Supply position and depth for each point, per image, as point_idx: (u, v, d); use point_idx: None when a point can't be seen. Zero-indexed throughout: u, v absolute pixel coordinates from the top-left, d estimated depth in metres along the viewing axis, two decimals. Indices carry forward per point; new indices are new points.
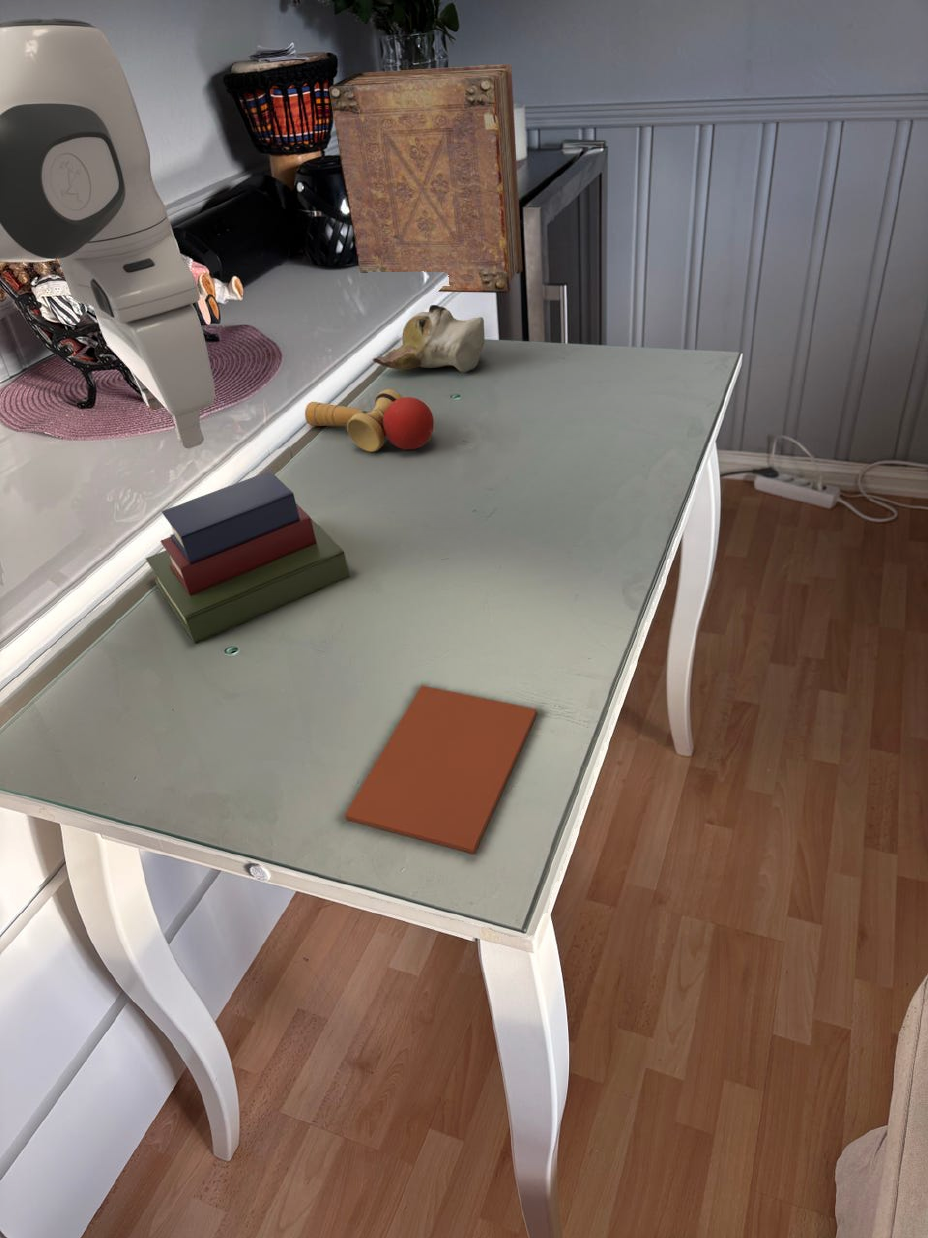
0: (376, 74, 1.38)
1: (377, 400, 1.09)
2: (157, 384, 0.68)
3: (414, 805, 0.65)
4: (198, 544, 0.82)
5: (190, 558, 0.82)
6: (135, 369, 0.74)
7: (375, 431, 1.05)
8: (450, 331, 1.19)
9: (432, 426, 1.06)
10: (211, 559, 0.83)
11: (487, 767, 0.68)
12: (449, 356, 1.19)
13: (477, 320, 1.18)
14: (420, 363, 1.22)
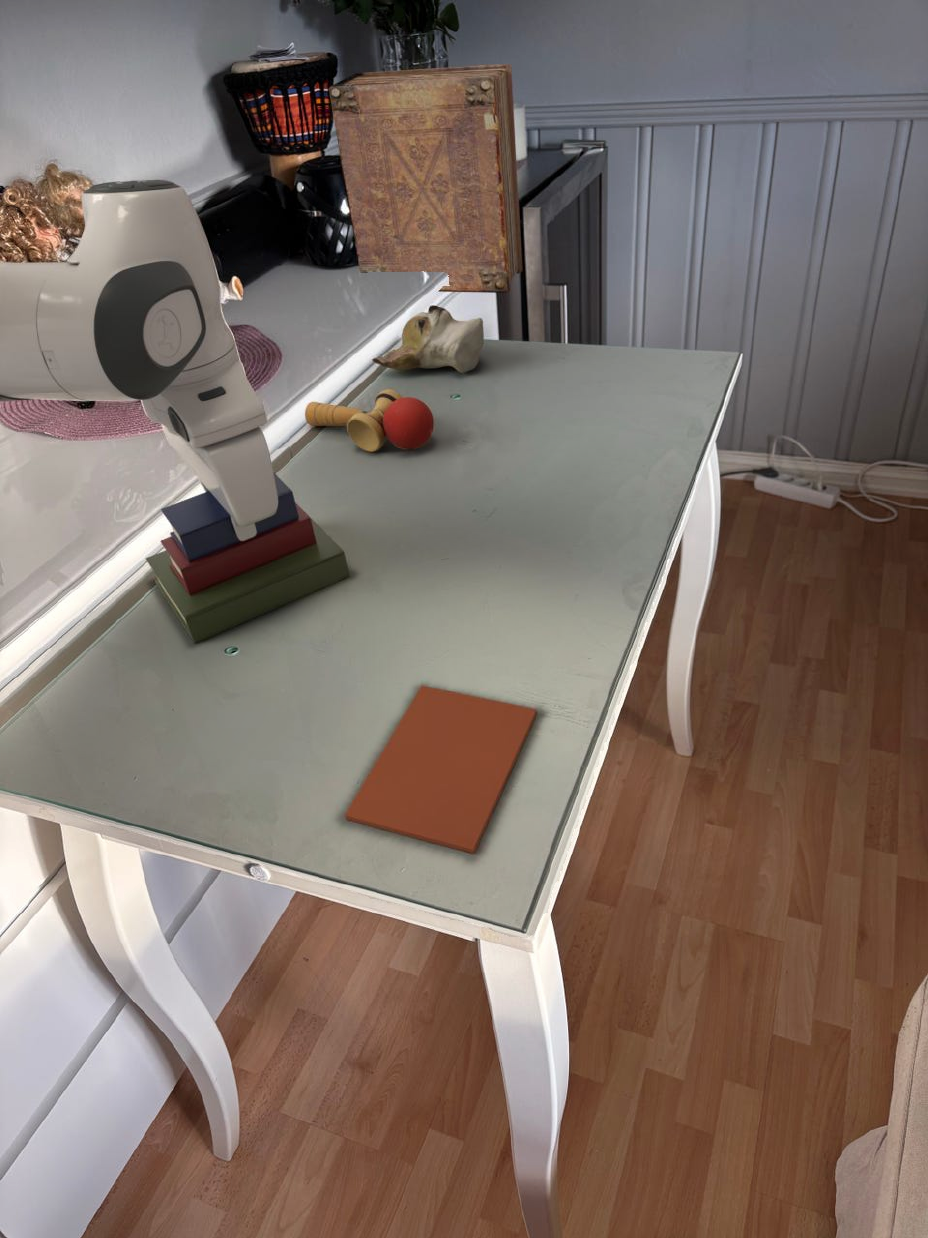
0: (376, 74, 1.38)
1: (377, 400, 1.09)
2: (227, 500, 0.74)
3: (414, 805, 0.65)
4: (197, 543, 0.82)
5: (189, 557, 0.82)
6: (201, 476, 0.81)
7: (375, 431, 1.05)
8: (449, 332, 1.19)
9: (432, 426, 1.06)
10: (211, 559, 0.83)
11: (487, 767, 0.68)
12: (448, 356, 1.19)
13: (476, 321, 1.18)
14: (419, 363, 1.22)
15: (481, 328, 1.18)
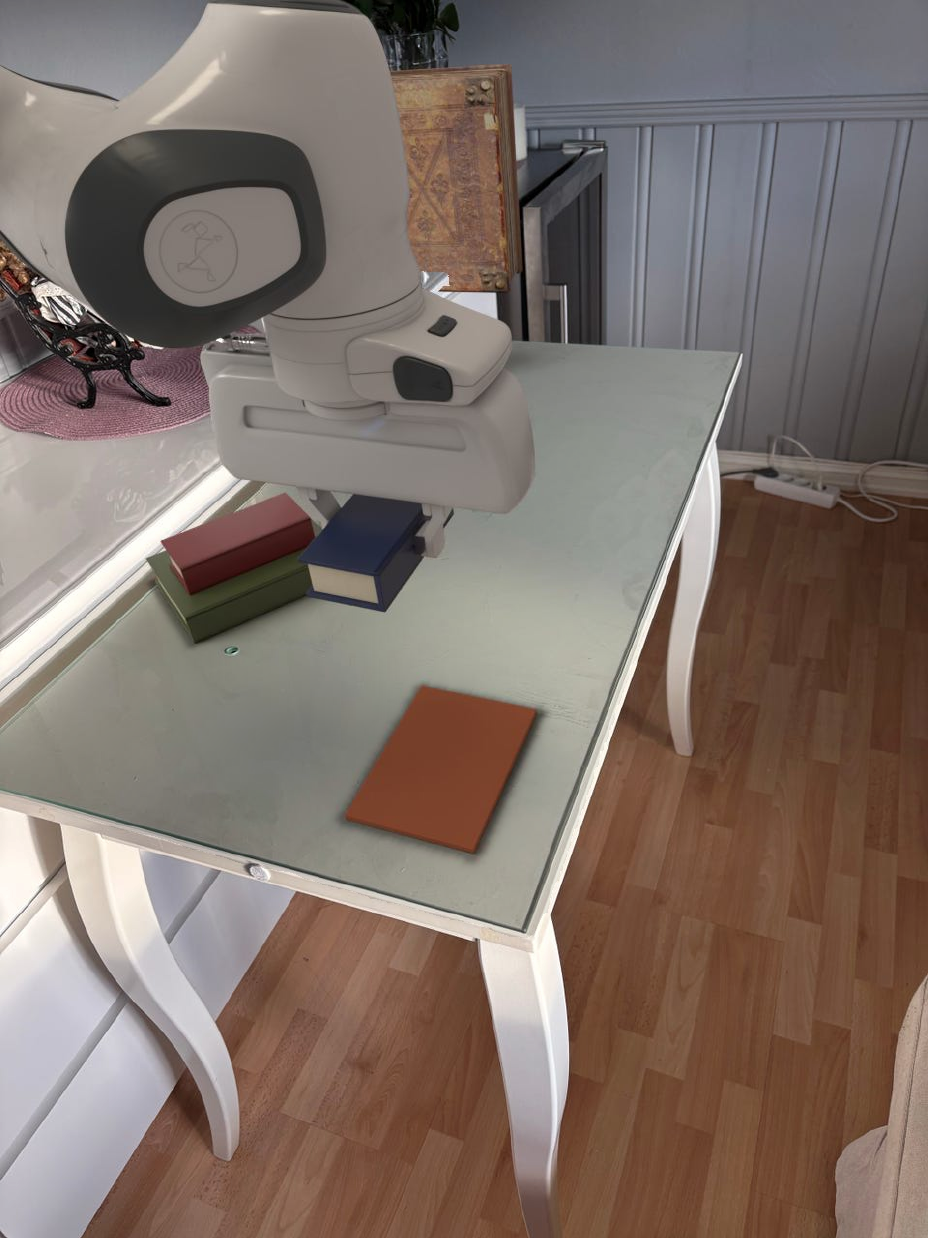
0: None
1: None
2: (503, 475, 0.50)
3: (414, 805, 0.65)
4: (390, 579, 0.55)
5: (385, 604, 0.55)
6: (372, 481, 0.54)
7: None
8: None
9: None
10: (211, 559, 0.83)
11: (487, 767, 0.68)
12: None
13: None
14: None
15: None
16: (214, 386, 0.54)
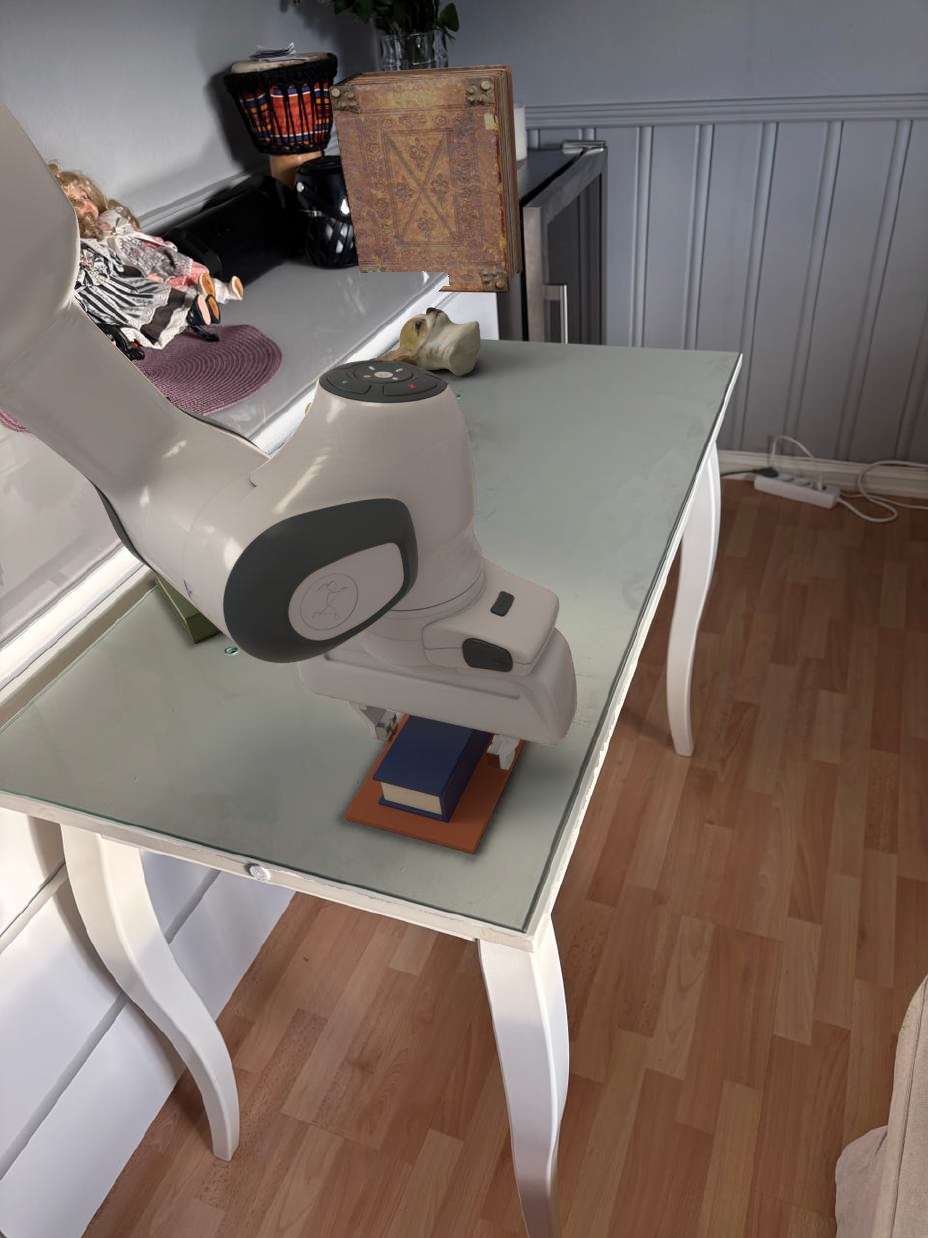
0: (376, 74, 1.38)
1: None
2: (552, 722, 0.58)
3: None
4: (452, 795, 0.64)
5: (448, 817, 0.64)
6: (436, 711, 0.62)
7: None
8: (445, 334, 1.18)
9: None
10: None
11: (487, 767, 0.68)
12: (443, 359, 1.19)
13: (472, 324, 1.17)
14: (416, 365, 1.22)
15: (477, 331, 1.18)
16: None
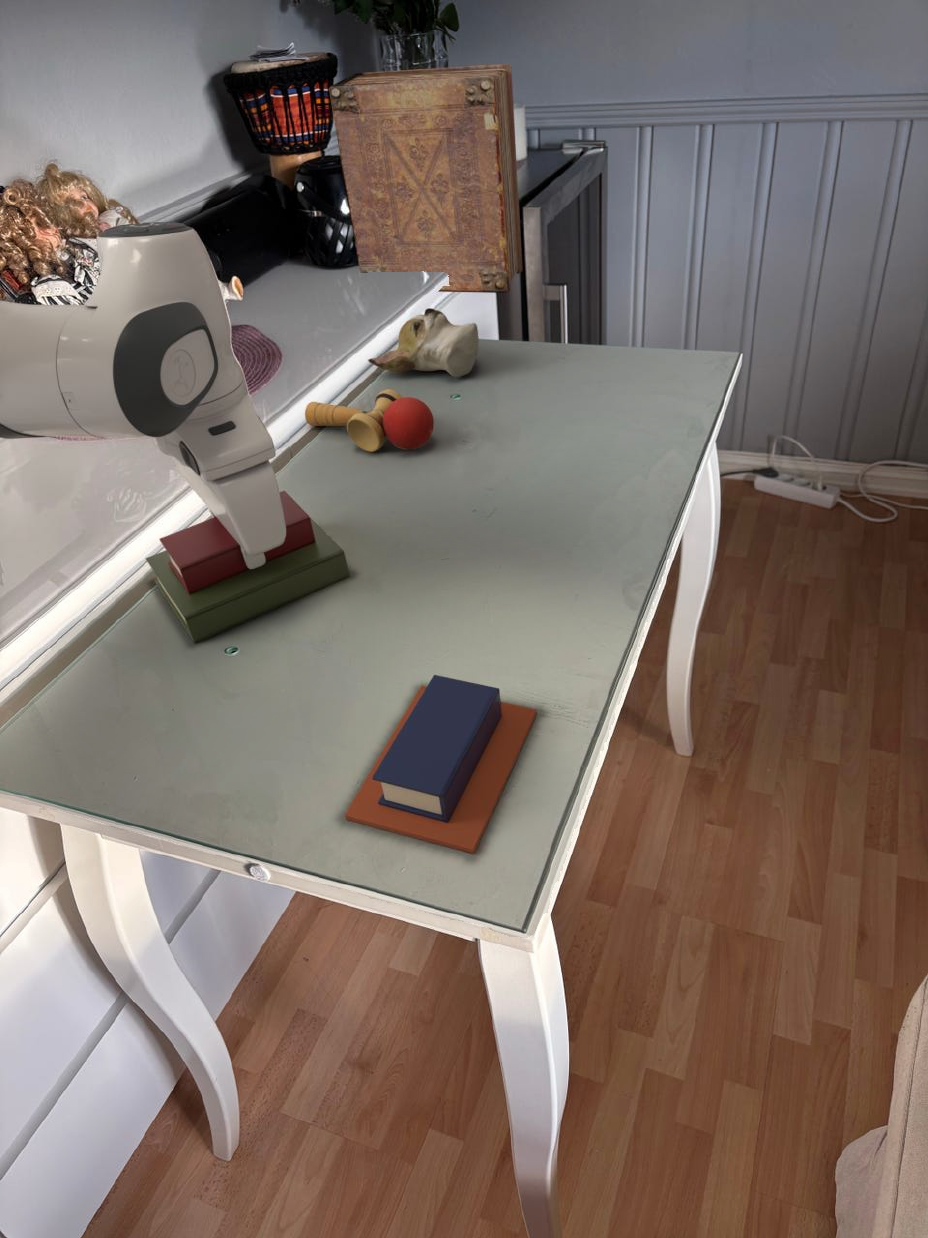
0: (376, 74, 1.38)
1: (377, 400, 1.09)
2: (237, 531, 0.75)
3: None
4: (452, 795, 0.64)
5: (448, 817, 0.64)
6: (210, 505, 0.82)
7: (375, 431, 1.05)
8: (443, 336, 1.18)
9: (432, 426, 1.06)
10: (211, 559, 0.83)
11: (487, 767, 0.68)
12: (441, 360, 1.19)
13: (470, 326, 1.17)
14: (414, 366, 1.22)
15: (475, 333, 1.17)
16: None
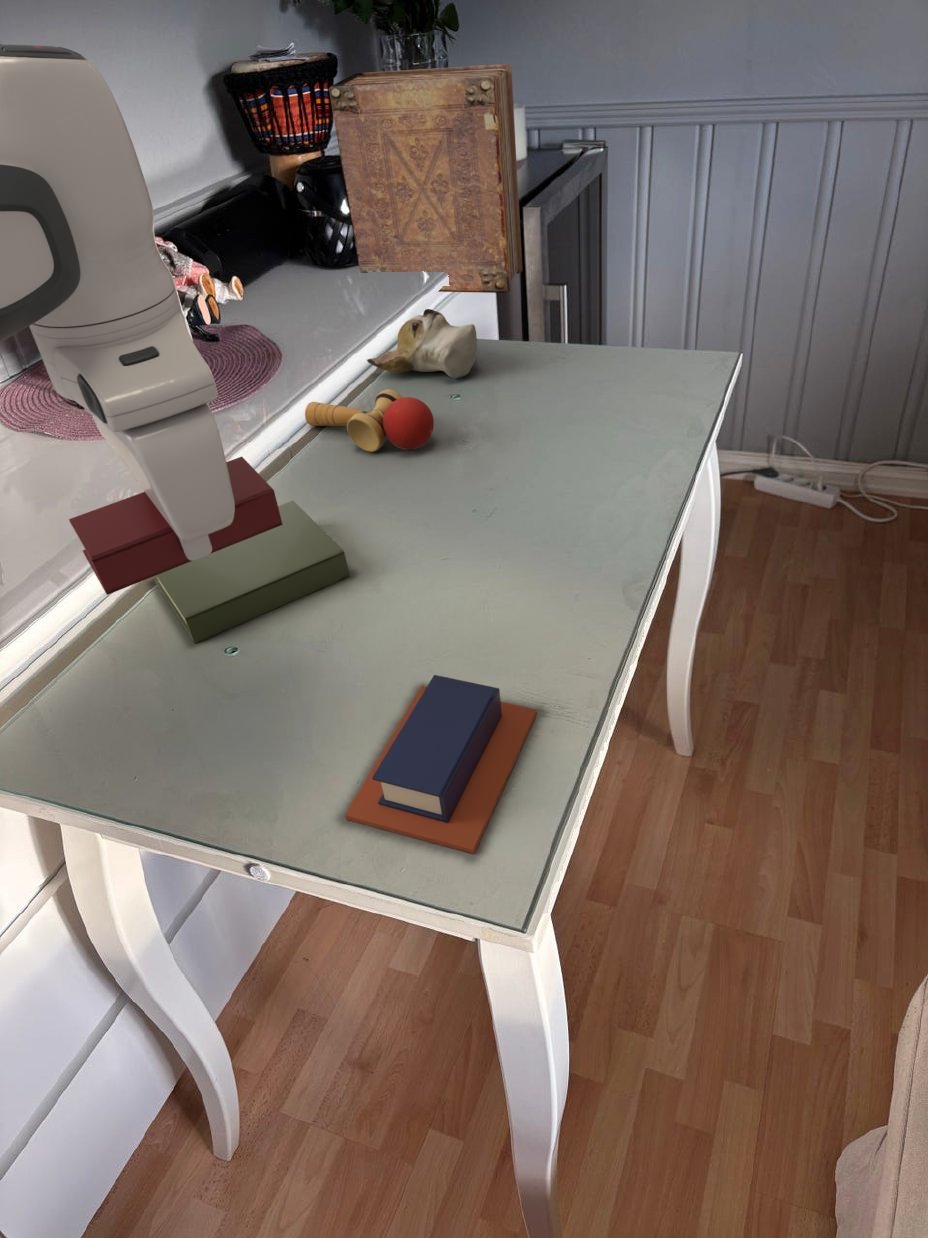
0: (376, 74, 1.38)
1: (377, 400, 1.09)
2: (162, 505, 0.53)
3: None
4: (452, 795, 0.64)
5: (448, 817, 0.64)
6: (134, 473, 0.60)
7: (375, 431, 1.05)
8: (441, 337, 1.18)
9: (432, 426, 1.06)
10: (136, 546, 0.61)
11: (487, 767, 0.68)
12: (439, 361, 1.18)
13: (468, 327, 1.16)
14: (412, 366, 1.21)
15: (473, 334, 1.17)
16: None
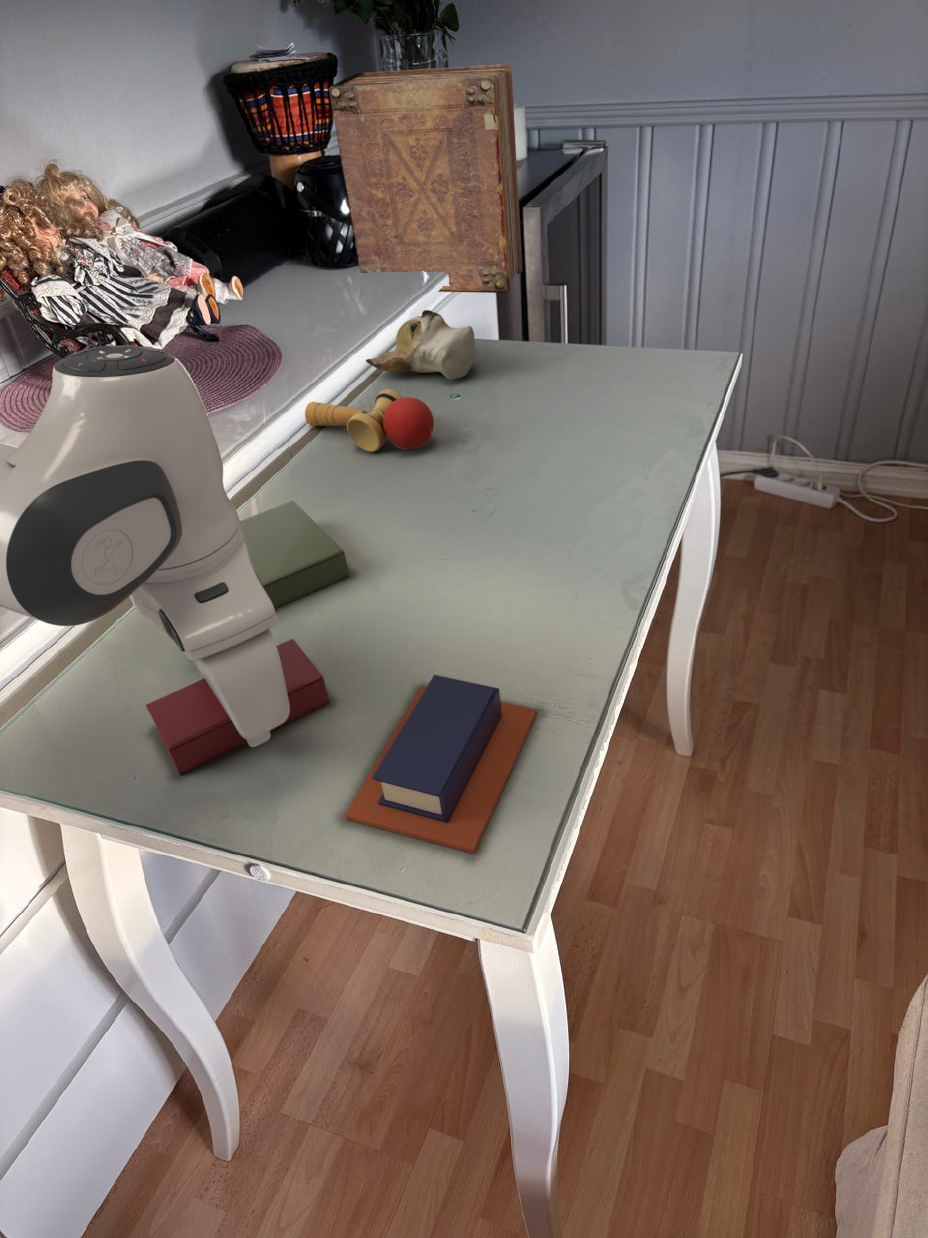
0: (376, 74, 1.38)
1: (377, 400, 1.09)
2: (230, 715, 0.62)
3: None
4: (452, 795, 0.64)
5: (448, 817, 0.64)
6: (198, 666, 0.69)
7: (375, 431, 1.05)
8: (439, 338, 1.18)
9: (432, 426, 1.06)
10: (205, 734, 0.70)
11: (487, 767, 0.68)
12: (436, 363, 1.18)
13: (465, 329, 1.16)
14: (410, 367, 1.21)
15: (470, 336, 1.17)
16: None
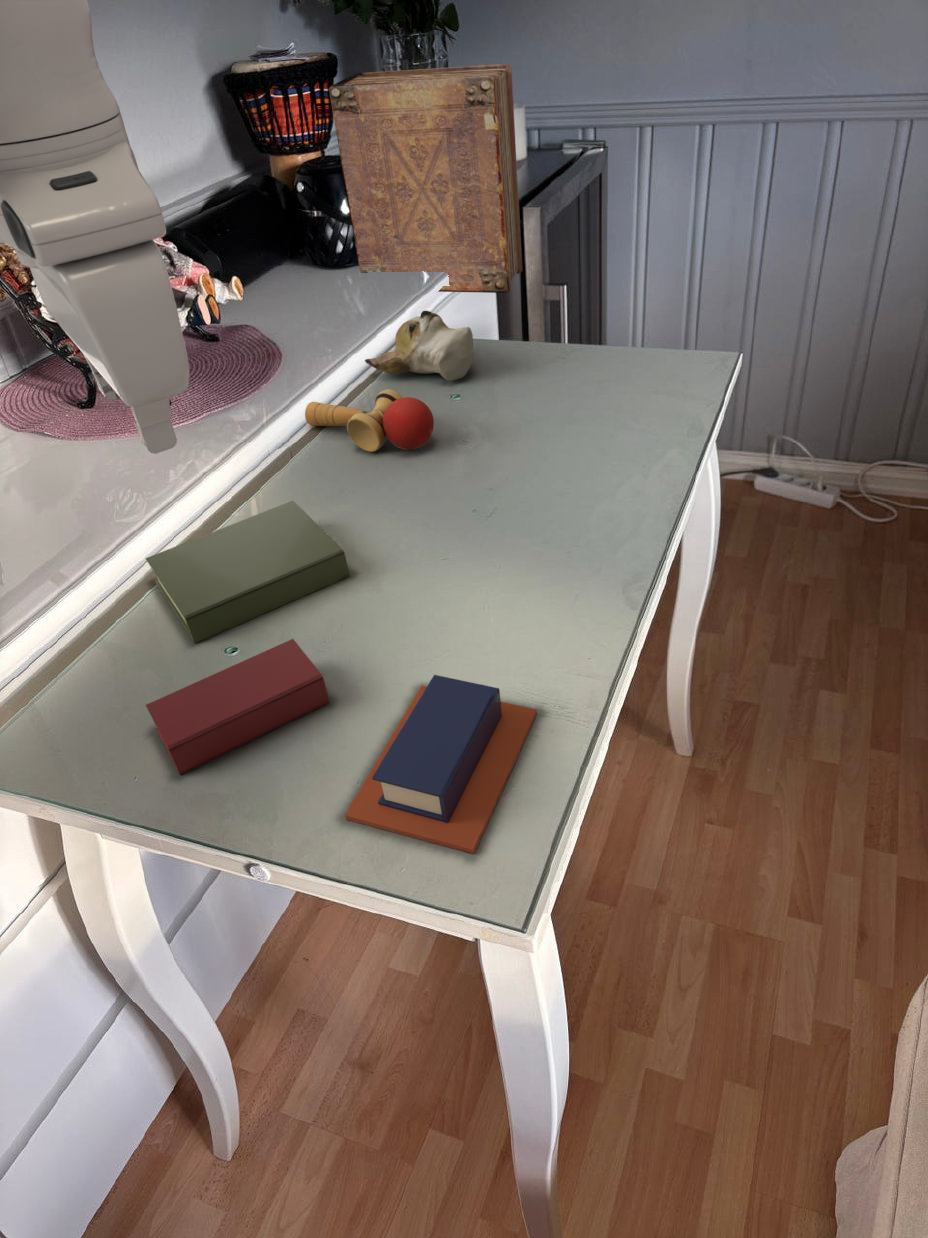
0: (376, 74, 1.38)
1: (377, 400, 1.09)
2: (103, 359, 0.46)
3: None
4: (452, 795, 0.64)
5: (448, 817, 0.64)
6: (79, 341, 0.53)
7: (375, 431, 1.05)
8: (437, 339, 1.17)
9: (432, 426, 1.06)
10: (205, 734, 0.70)
11: (487, 767, 0.68)
12: (434, 363, 1.18)
13: (464, 330, 1.16)
14: (409, 368, 1.21)
15: (469, 337, 1.16)
16: None
